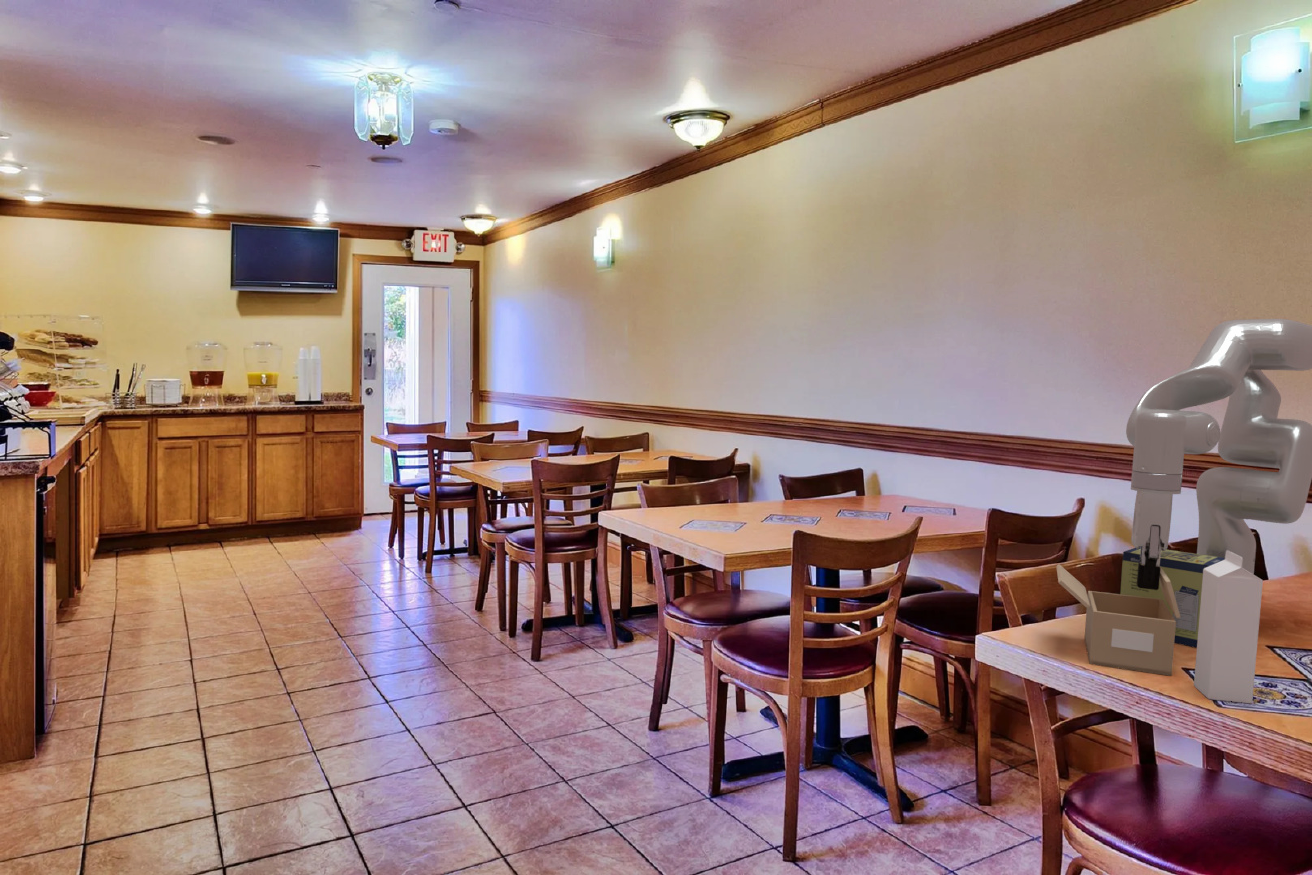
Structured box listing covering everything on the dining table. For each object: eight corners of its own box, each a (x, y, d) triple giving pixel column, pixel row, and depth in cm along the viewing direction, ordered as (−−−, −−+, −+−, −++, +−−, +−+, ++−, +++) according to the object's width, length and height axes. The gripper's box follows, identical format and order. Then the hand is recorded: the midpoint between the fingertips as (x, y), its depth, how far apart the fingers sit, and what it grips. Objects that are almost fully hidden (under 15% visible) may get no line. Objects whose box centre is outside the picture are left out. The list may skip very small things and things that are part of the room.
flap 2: (1163, 597, 155) (1154, 564, 155) (1167, 596, 155) (1158, 563, 155) (1176, 617, 141) (1166, 581, 142) (1180, 617, 141) (1170, 581, 141)
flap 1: (1082, 589, 160) (1056, 565, 162) (1085, 587, 160) (1058, 563, 162) (1087, 608, 147) (1058, 582, 148) (1089, 605, 146) (1061, 580, 148)
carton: (1084, 638, 161) (1087, 590, 160) (1158, 648, 156) (1162, 599, 156) (1089, 664, 146) (1093, 611, 146) (1171, 676, 142) (1176, 621, 141)
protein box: (1133, 620, 174) (1139, 544, 173) (1223, 639, 163) (1230, 558, 162) (1115, 630, 167) (1121, 550, 166) (1208, 651, 156) (1215, 565, 155)
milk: (1235, 690, 136) (1248, 551, 134) (1252, 704, 130) (1266, 559, 129) (1192, 685, 137) (1204, 548, 136) (1207, 699, 132) (1220, 555, 130)
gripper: (1128, 477, 158) (1120, 576, 160) (1134, 485, 145) (1126, 594, 146) (1175, 480, 155) (1167, 582, 156) (1187, 489, 141) (1177, 600, 143)
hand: (1147, 587), depth 151 cm, fingers closed
